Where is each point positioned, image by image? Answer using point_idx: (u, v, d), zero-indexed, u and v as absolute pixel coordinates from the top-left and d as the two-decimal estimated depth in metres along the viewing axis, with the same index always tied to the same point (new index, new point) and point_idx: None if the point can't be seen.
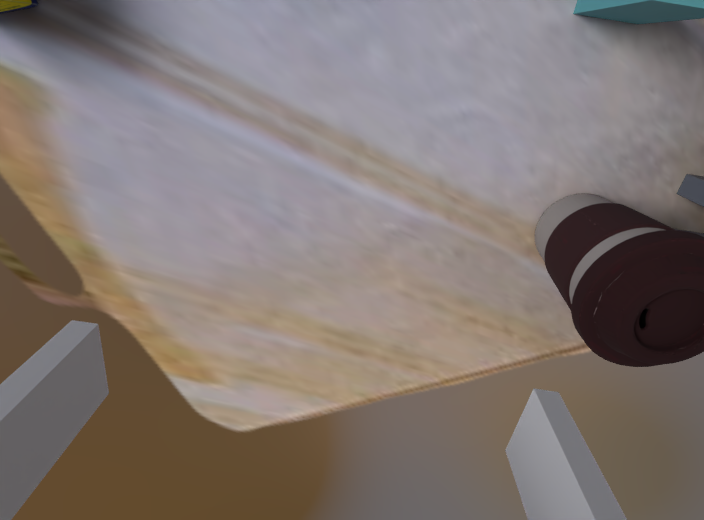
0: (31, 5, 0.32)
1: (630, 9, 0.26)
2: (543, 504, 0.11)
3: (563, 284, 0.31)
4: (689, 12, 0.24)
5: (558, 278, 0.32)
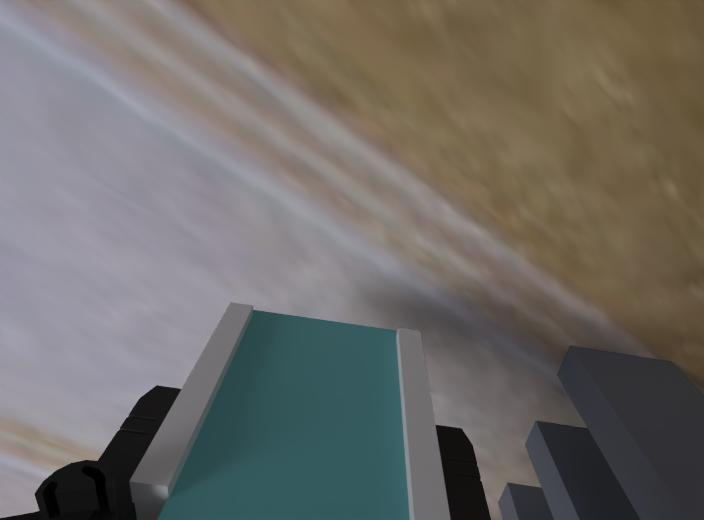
0: None
1: None
2: None
3: None
4: None
5: None
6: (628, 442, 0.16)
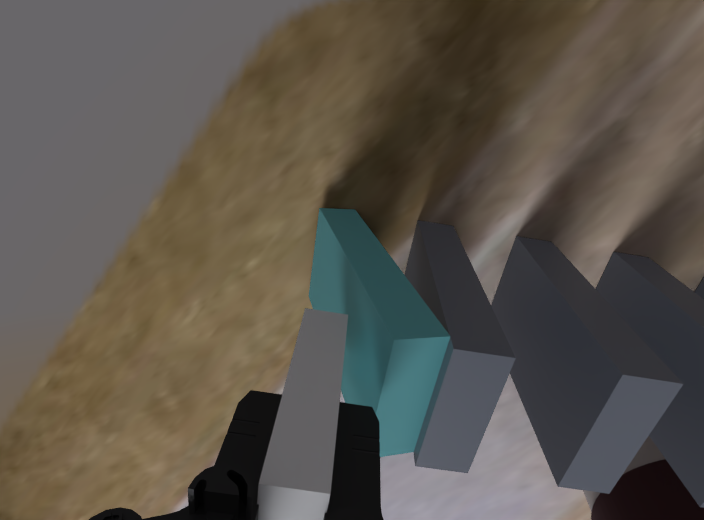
0: None
1: None
2: None
3: None
4: None
5: None
6: None
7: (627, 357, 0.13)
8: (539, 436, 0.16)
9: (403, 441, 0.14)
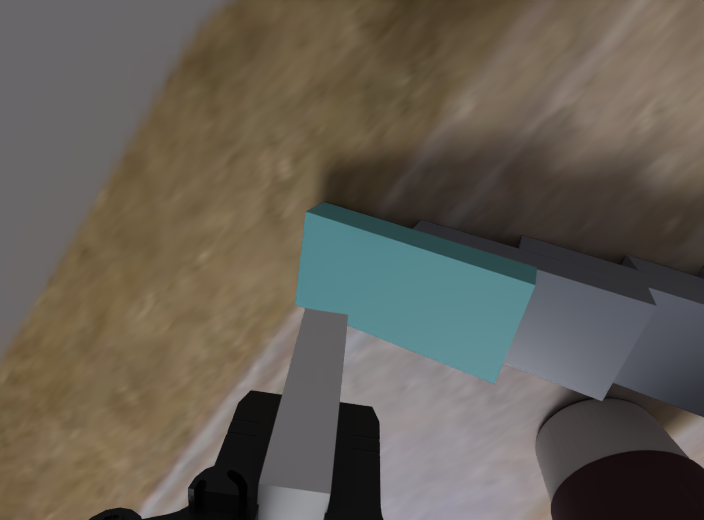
0: None
1: None
2: None
3: None
4: None
5: None
6: None
7: None
8: (663, 398, 0.19)
9: None
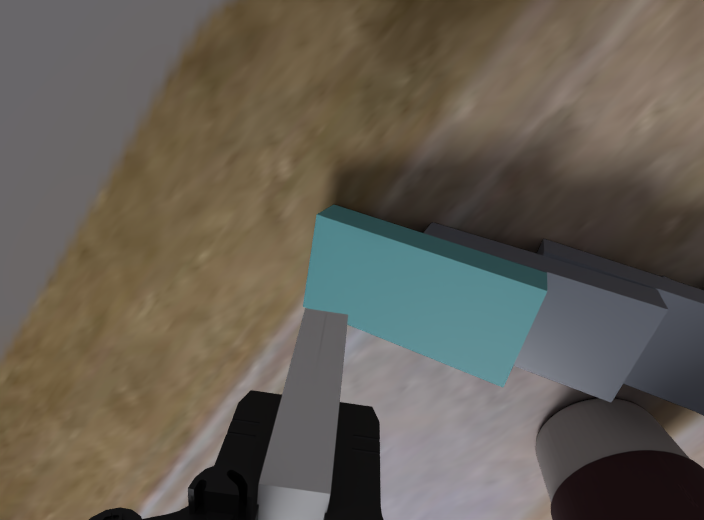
0: None
1: None
2: None
3: None
4: None
5: None
6: None
7: None
8: (680, 402, 0.19)
9: None
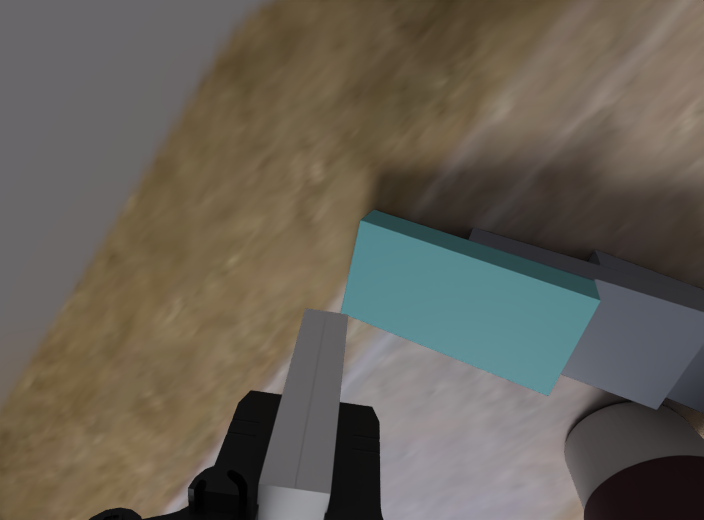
0: None
1: None
2: None
3: None
4: None
5: None
6: None
7: None
8: None
9: None
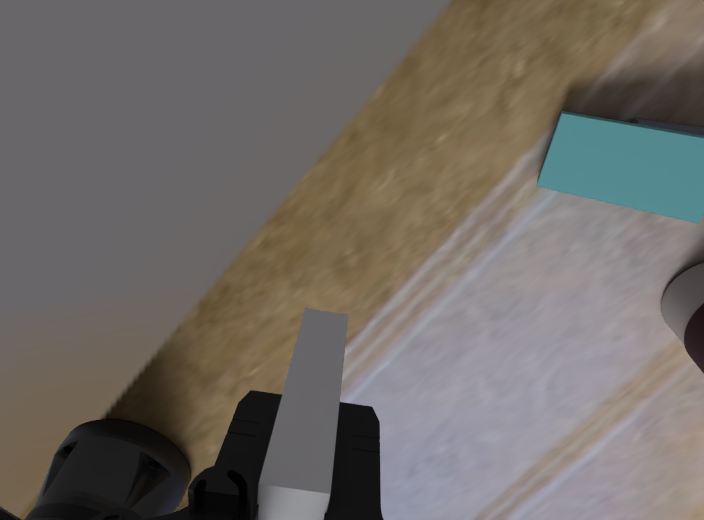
0: None
1: None
2: None
3: None
4: None
5: None
6: None
7: None
8: None
9: None
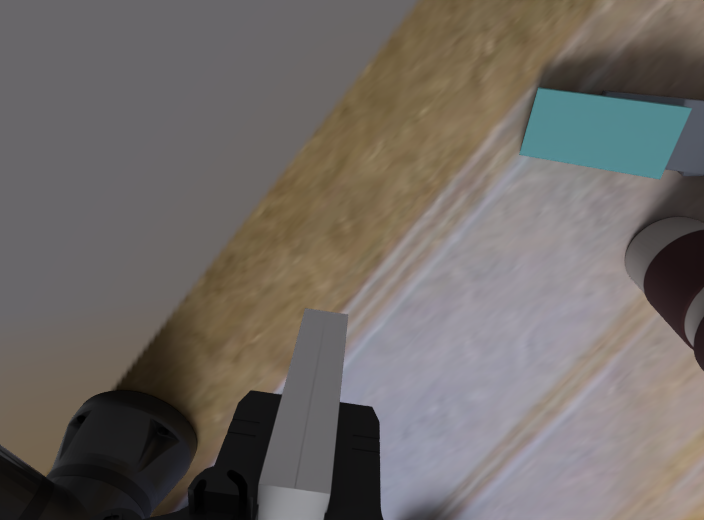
0: None
1: None
2: None
3: None
4: None
5: None
6: None
7: None
8: None
9: None
